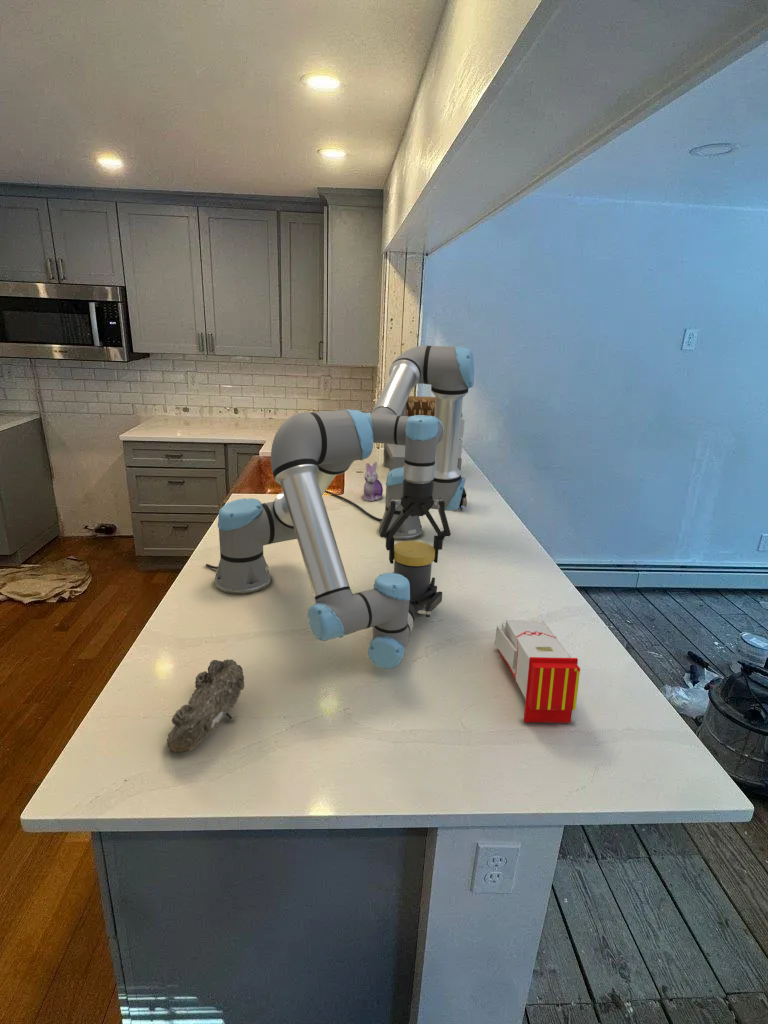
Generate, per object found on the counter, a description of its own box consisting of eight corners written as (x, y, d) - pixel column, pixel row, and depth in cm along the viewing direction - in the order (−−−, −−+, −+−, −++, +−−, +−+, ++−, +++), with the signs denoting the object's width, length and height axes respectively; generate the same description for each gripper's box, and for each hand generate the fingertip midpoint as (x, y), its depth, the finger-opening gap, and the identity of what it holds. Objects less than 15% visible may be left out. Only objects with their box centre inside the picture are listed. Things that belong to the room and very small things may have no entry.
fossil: (192, 660, 117) (244, 628, 112) (224, 691, 120) (276, 661, 115) (142, 746, 98) (202, 712, 93) (182, 779, 101) (242, 748, 96)
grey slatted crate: (382, 463, 289) (386, 382, 275) (445, 464, 293) (451, 384, 279) (390, 482, 257) (394, 392, 243) (460, 483, 261) (468, 394, 247)
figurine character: (467, 515, 225) (461, 499, 238) (469, 498, 221) (463, 482, 235) (450, 514, 224) (445, 498, 238) (452, 497, 221) (447, 482, 234)
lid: (414, 545, 154) (415, 537, 153) (443, 559, 146) (444, 551, 145) (383, 554, 147) (383, 546, 146) (412, 570, 139) (412, 561, 138)
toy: (541, 605, 135) (589, 664, 106) (536, 657, 138) (581, 729, 108) (490, 604, 135) (524, 663, 105) (486, 656, 137) (518, 728, 108)
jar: (384, 604, 152) (387, 550, 146) (410, 594, 158) (413, 541, 153) (409, 619, 145) (413, 562, 140) (435, 608, 151) (440, 553, 146)
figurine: (367, 502, 230) (368, 467, 225) (357, 495, 238) (358, 460, 233) (388, 500, 234) (389, 465, 229) (377, 492, 242) (378, 458, 237)
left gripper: (351, 627, 136) (373, 586, 157) (444, 641, 132) (454, 597, 153) (352, 599, 134) (374, 561, 154) (447, 613, 130) (456, 572, 150)
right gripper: (460, 475, 145) (453, 554, 152) (369, 475, 141) (366, 555, 149) (468, 484, 138) (460, 566, 145) (373, 484, 134) (370, 568, 142)
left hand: (414, 579), depth 153 cm, fingers closed on jar, 10 cm apart
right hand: (413, 561), depth 147 cm, fingers closed on lid, 11 cm apart
